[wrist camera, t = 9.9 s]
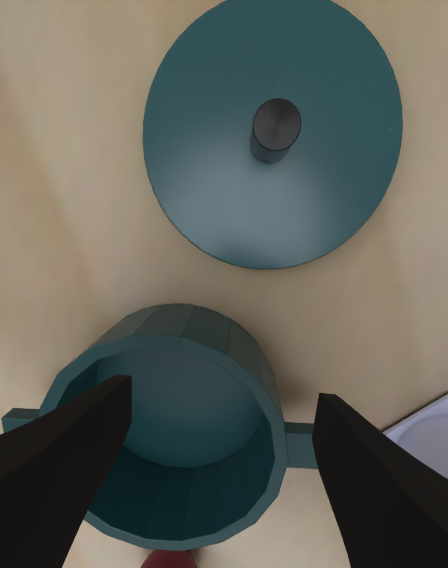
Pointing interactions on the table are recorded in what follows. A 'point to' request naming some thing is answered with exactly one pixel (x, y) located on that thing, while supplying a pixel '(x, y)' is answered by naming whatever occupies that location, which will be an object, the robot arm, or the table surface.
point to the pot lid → (272, 130)
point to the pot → (185, 428)
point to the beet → (169, 559)
